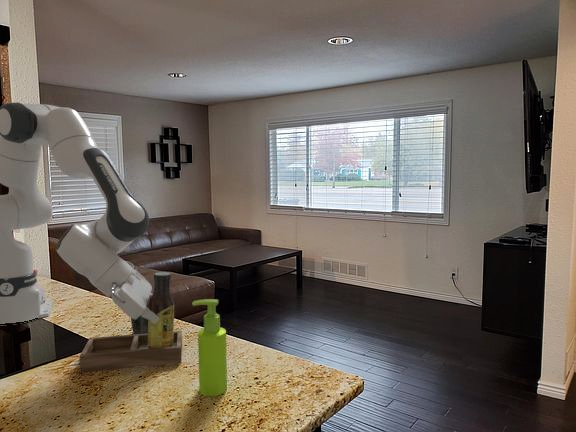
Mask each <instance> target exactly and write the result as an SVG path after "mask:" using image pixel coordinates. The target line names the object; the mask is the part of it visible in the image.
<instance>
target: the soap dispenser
mask: <svg viewBox="0 0 576 432" xmlns="http://www.w3.org/2000/svg"><path fill="white" fill-rule="evenodd" d="M218 304H219V299H214V298H213V299H212V298H204V299H203V298H202V299H198V300H194V301H192V303H191V305H192V306H193V307H195V306H202V305H204V306H206V305H207V313H206V314H204V315H203V328H202V329H200V330H198V332H197V337H198V338H197V342H198V343H197V345H198V347H197V348H198V386H199V388H198V390H199V393H200V394H201V395H202V394H203V395H202V396H204V395H205V396H204V397H209V396H213V397H218V395H219V396H222V395H223V394H225V393H226V392H227V390H228V380H227V379H228V375H227V374H228V373H227V371H228V370H227V363H228V362H227V330H226V329H225V328H224V327H221V315H220V314H219V313H217V312H216V311H217V310H216V307H217V306H218Z"/></svg>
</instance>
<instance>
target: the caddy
mask: <svg viewBox="0 0 576 432" xmlns="http://www.w3.org/2000/svg"><path fill="white" fill-rule="evenodd" d="M182 331H183V330H175V331H174V334H173V346H172V347H161V348H149V349H148V346H149V345H148V333H147V334H134V335H133V334H125V335H111V336H97V337H89V339H88V340H87V343H86V344H85V346H84V347H83V350H82V352H81V353H80V354H79V368H80V373H87V372H98V371H109V370H112V371H113V370H121V369H131V368H133V369H134V368H143V367H153V366H163V365H174V364H175V365H176V364H181V363H182V355H183V332H182Z"/></svg>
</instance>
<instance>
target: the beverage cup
mask: <svg viewBox="0 0 576 432" xmlns="http://www.w3.org/2000/svg"><path fill="white" fill-rule="evenodd" d="M134 268H135V270H136V271H138V266H134ZM138 272H139V271H138ZM151 293H152V294H153V293H154V289H153V288H152V289H151ZM147 307H148V308H149V303H147ZM130 321H131V329H132V335H134V334H147V333H148V319H146V318H143V317H142V316H141V315H140V316H139V317H138V318H137V319H132V318H130Z"/></svg>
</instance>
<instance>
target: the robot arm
mask: <svg viewBox="0 0 576 432" xmlns="http://www.w3.org/2000/svg"><path fill="white" fill-rule="evenodd" d="M45 145H48V147H49V150H50V152H51V155H52V157H53V159H54V161H55V164H56V165H57V167H58V168H59V170H60V171H61V172H62V173H63V174H64V175H65V176H68V177H71V178H75V179H84V178H92V180H93V181H94V183H95V185H96V186H97V189H98V190H99V192H100V194H101V195H102V197H103V198H104V200H105V203H106V207H105V212H104V213H103V215H102V216H101V217H100V218H99V219H96V220H94V221H91V222H88V223H87V222H86V223H81V224H80V223H79V224H77V223H73V224H71V225H70V226H69V227H68V228H67V229H66V230H65V231H64V233H63V234H62V236H61V237H60V238H59V240H58V241H57V242H56V246H55V251H56V252H57V254H58V255H59V257H60V258H61V259H62V260H63V261H64V262H65V263H67V265H68V266H70V267H71V268H72V269H73V270H74V271H76V273H78V274H80V275H82V276H84V277H85V278H86V279H88V280H89V282H90V283H91V285H93V286H94V287H95V288H97V290H99V291H100V292H101V293H103V294H104V295H105V296H107V298H108V297H110V296H112V297H111V300H112V302H113V303H114V304H115V305H116V306H117V307H118V308H119V309H120V310H121V311H123V313H124V314H126V315H127V316H128V317H129V318H130V319H131V318H132V319H137V318H138V317H139V316H140V315H141V316H142V317H143V318H146V319H148V320H150V321H151V322H153V323H154V324H155V323H156V322H157V321H158V320H159V315H157V314H156V313H153V312H152V311H150V310H149V308H148V307H147V303H149V301H150V298H151V296H152V295H153V294H152V293H151V289H152V290H153V286H152V284H151V283H150V282H149V281H148V280H147V278H145V277H144V276H143V275H142V274H141V273H140V272H139V271H136V269H134V268H135V265H134V264H133V263H132V262H130V261H126V260H124V259H123V258H122V257H120V256H119V255H118V254H119V253H122V252H123V251H124V250H125V249H126V248H127V247H129V246H130V245H131V244H132V243H133V242H134V241H135V240H137V239H138V238H139V237H141V236H143V235H144V234H145V233H146V232H147V231H148V229H149V227H150V217H149V216H150V215H149V213H148V211H147V210H146V208H145V206H144V205H143V204H142V203H141V202H140V201H139V200H138V199H137V198H136V196H135V195H134V194H133V193H132V191H131V190H130V188H129V186H128V185H127V183H126V181H125V180H124V178H123V176H122V175H121V173H120V171H119V169H118V168H117V166H116V164H115V163H114V162H113V160H112V159H111V157H110V156H109V154H107V152H106V151H104V150H103V149H101V148H99V146H98V144H97V142H96V140H95V137H94V135H93V133H92V132H91V129H90V127H89V126H88V125H87V123H86V122H85V121H84V119H83V117H82V115H80V114H79V112H78V111H76V110H75V109H73V108H71V107H65V106H62V107H61V106H57V105H53V104H45V103H21V102H8V103H4V104H2V105H1V106H0V184H1V185H2V186H4V187H7V188H9V191H8V193H7V194H0V324H5V323H16V322H24V321H28V322H30V321H29V320H32V319H35V318H38V319H42V318H45V317H48V316H50V314H51V312H52V311H51V310H52V307H53V304H54V301H53V300H51V299H46V294H45V288H43V287H42V286H41V285H40V284H39V283H38V279H37V276H38V270H37V269H34V259H33V258H34V257H33V250H32V248H31V246H29V245H28V244H27V243H25V242H22V241H20V240H17V239H16V238H15V237H14V234H13V231H15V230H16V231H17V230H22V229H31V228H35V227H38V226H42V225H44V224H47V223H48V222H49V221H50V219H51V217H52V216H53V205H52V203H51V201H50V200H49V198H47V197H46V196H45V195H44V194H43V193H42V192H41V191H40V189H39V186H38V173H39V172H38V171H39V166H40V160H41V153H42V147H43V146H45ZM35 320H36V319H35ZM32 321H33V320H32ZM24 323H25V322H24Z"/></svg>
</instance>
